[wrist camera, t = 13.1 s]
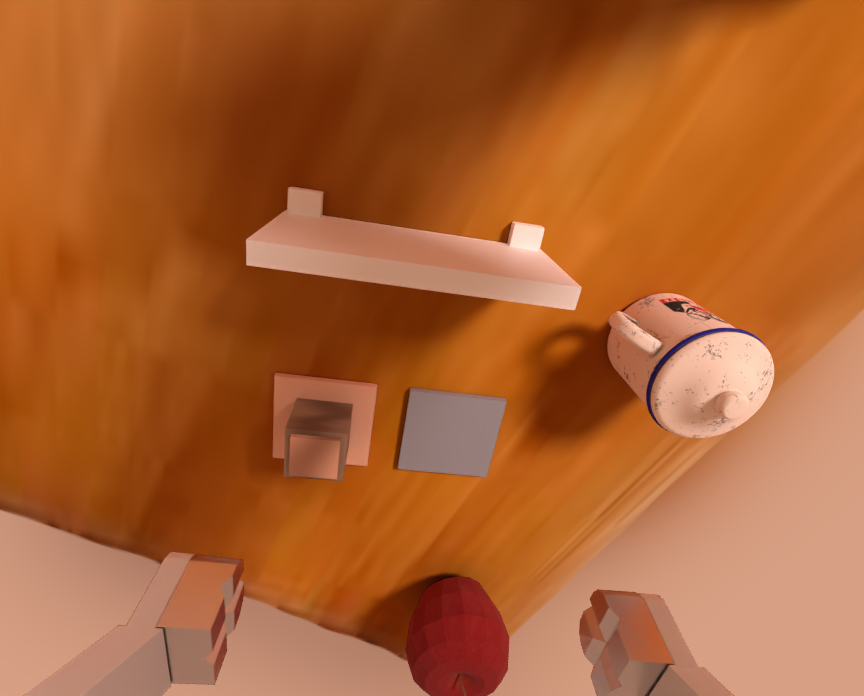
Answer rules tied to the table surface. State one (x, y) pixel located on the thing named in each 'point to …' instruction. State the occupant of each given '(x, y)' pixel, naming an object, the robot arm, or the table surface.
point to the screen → (410, 256)
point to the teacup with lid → (689, 365)
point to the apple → (457, 640)
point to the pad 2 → (450, 432)
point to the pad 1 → (326, 390)
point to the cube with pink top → (317, 439)
